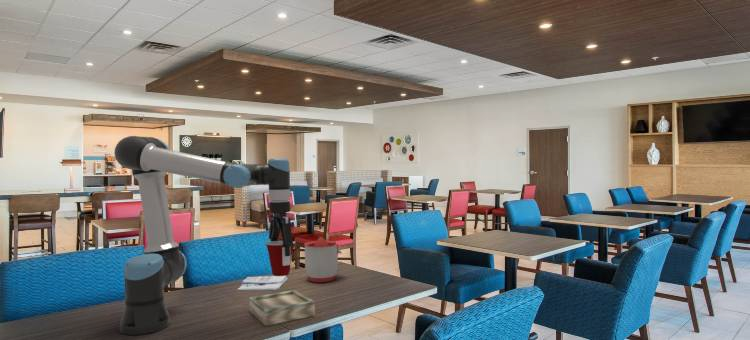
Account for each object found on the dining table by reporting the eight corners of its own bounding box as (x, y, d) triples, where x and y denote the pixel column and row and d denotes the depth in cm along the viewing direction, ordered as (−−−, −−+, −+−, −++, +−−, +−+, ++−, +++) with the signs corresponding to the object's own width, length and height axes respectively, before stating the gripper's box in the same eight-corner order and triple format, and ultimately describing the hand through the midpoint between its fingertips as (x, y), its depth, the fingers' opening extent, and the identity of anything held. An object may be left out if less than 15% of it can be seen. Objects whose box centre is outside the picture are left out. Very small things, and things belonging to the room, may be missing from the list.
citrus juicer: (345, 282, 206) (344, 238, 206) (306, 285, 202) (306, 240, 201) (338, 274, 221) (338, 233, 221) (302, 277, 217) (302, 235, 216)
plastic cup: (299, 270, 170) (299, 238, 169) (291, 278, 159) (290, 244, 159) (271, 270, 171) (270, 238, 171) (261, 278, 160) (260, 243, 160)
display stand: (265, 325, 153) (265, 311, 153) (249, 311, 168) (249, 297, 168) (314, 315, 162) (314, 301, 162) (295, 302, 178) (295, 289, 178)
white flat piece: (288, 279, 215) (288, 274, 215) (278, 291, 195) (278, 286, 195) (248, 279, 216) (248, 275, 216) (233, 292, 196) (233, 286, 195)
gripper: (302, 202, 157) (303, 266, 157) (278, 198, 176) (279, 255, 177) (281, 204, 153) (282, 269, 153) (259, 199, 172) (260, 257, 173)
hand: (280, 262), depth 165 cm, fingers closed on plastic cup, 11 cm apart
